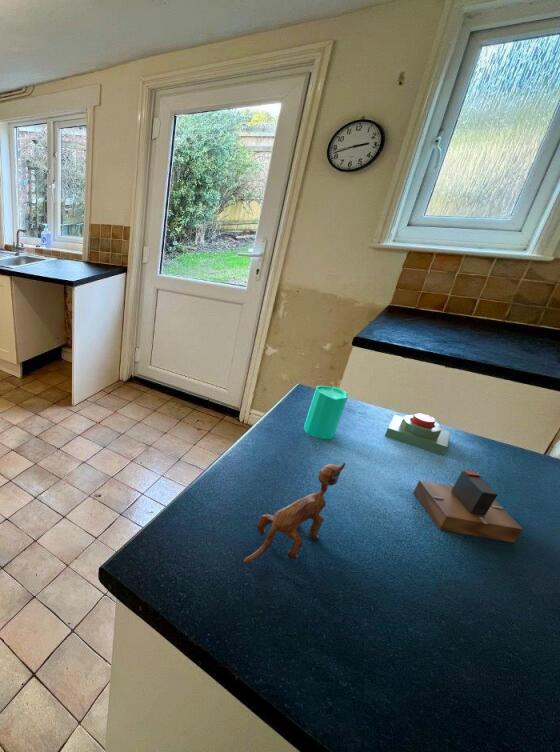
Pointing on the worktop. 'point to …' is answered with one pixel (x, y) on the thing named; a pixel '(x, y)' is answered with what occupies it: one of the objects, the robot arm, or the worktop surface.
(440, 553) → the worktop surface
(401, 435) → the button box
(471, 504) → the dark grey block
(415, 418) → the button
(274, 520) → the cat figurine
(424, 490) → the panel
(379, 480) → the worktop surface
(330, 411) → the candle
